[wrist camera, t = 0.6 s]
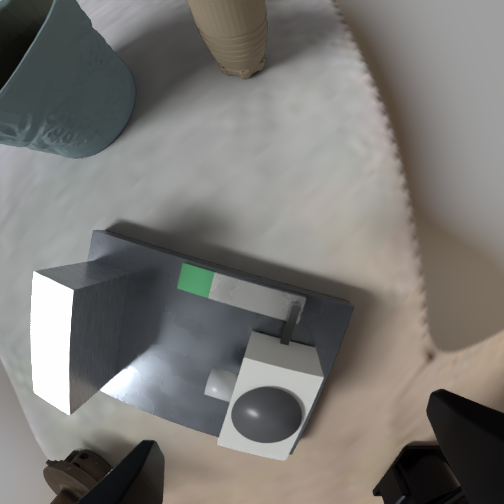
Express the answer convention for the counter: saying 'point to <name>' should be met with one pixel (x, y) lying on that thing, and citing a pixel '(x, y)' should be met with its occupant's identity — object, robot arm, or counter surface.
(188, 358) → the bench
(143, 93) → the counter surface
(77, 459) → the industrial component
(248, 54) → the handle
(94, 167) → the counter surface
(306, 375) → the white box with dome
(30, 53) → the teal cup
